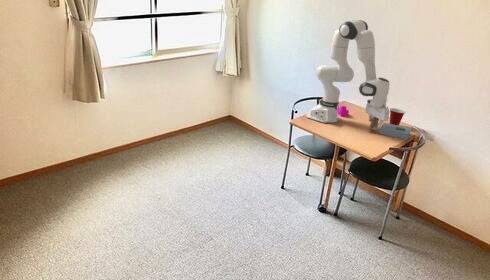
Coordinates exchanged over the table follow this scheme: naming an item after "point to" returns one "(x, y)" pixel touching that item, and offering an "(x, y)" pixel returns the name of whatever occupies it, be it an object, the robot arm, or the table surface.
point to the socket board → (395, 131)
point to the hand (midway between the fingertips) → (374, 123)
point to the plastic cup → (396, 116)
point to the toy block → (342, 111)
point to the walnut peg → (374, 125)
